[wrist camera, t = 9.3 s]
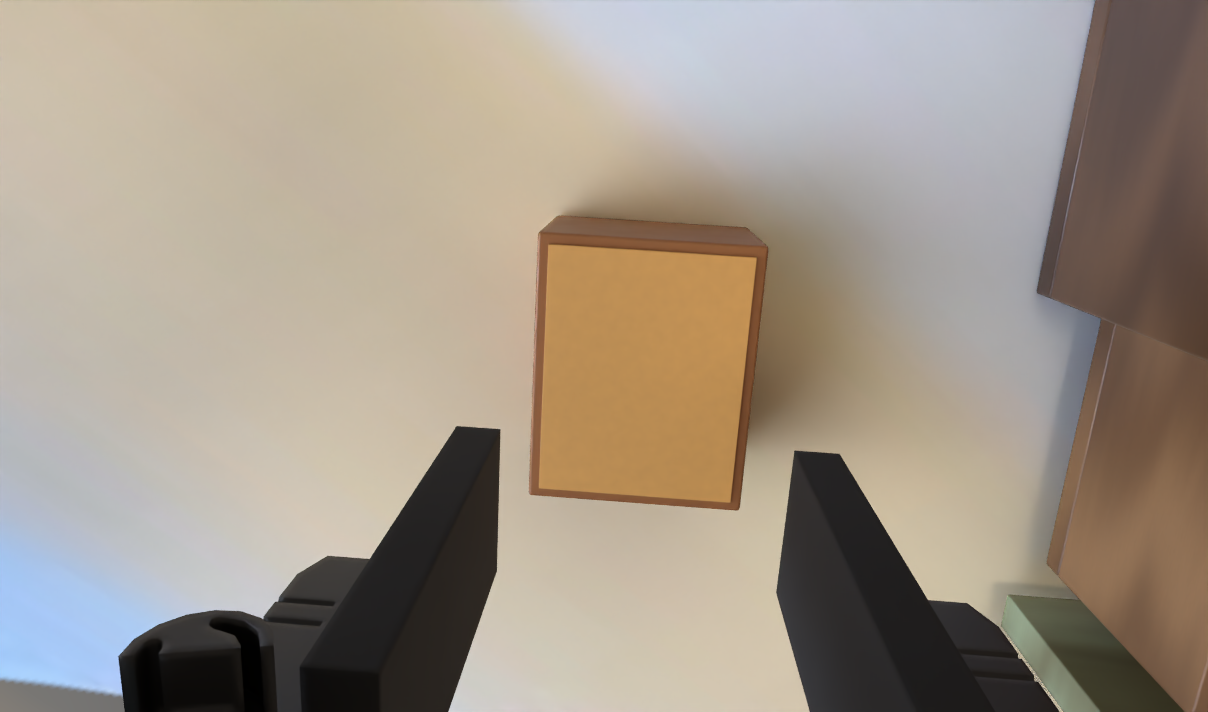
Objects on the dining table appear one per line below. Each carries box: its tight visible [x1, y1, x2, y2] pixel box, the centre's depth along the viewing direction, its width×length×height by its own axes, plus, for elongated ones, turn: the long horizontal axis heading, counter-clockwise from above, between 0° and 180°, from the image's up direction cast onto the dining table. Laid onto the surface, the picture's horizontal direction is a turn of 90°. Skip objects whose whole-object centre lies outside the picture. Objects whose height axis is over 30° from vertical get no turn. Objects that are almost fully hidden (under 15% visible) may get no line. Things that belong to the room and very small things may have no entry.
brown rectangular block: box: [529, 216, 768, 510], centre depth 24 cm, size 8×6×5 cm
